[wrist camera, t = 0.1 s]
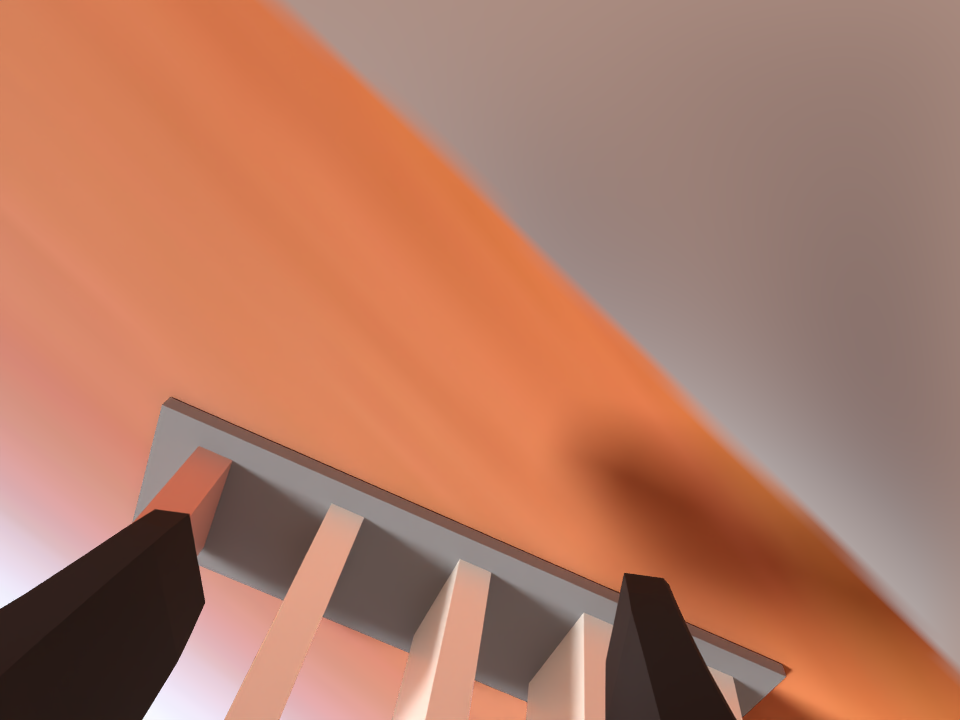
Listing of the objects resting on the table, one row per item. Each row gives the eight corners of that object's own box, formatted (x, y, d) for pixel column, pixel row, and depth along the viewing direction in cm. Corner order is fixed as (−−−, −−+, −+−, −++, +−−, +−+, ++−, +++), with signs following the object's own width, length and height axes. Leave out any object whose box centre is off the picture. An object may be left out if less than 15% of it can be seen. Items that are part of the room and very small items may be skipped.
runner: (782, 664, 25) (786, 676, 24) (685, 756, 28) (687, 768, 27) (170, 397, 23) (161, 404, 22) (136, 527, 26) (129, 536, 25)
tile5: (232, 460, 23) (65, 680, 16) (203, 547, 25) (44, 778, 18) (198, 445, 23) (14, 659, 15) (172, 534, 25) (-1, 760, 17)
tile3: (491, 572, 24) (451, 832, 16) (443, 647, 26) (387, 909, 18) (460, 558, 24) (404, 814, 16) (413, 635, 26) (346, 893, 18)
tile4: (364, 517, 23) (263, 758, 16) (325, 598, 25) (219, 844, 18) (331, 503, 23) (214, 739, 16) (295, 585, 25) (176, 828, 18)
